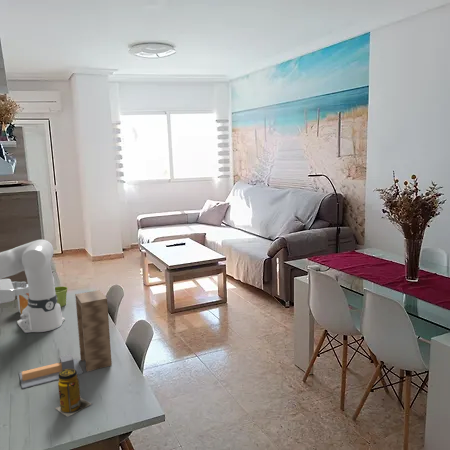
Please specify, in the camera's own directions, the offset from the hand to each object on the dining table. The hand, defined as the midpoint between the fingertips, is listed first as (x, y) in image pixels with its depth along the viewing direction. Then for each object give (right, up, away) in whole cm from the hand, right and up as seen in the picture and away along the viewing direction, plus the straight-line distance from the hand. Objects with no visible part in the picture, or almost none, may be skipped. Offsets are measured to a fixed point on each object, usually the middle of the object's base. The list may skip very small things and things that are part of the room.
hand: (27, 287), depth 152 cm
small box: (-31, -22, +69) cm, 79 cm away
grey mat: (+5, -32, +8) cm, 33 cm away
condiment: (+20, -36, -13) cm, 43 cm away
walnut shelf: (+19, -30, +15) cm, 39 cm away
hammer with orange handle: (+4, -32, +7) cm, 33 cm away
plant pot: (-18, -20, +77) cm, 81 cm away
